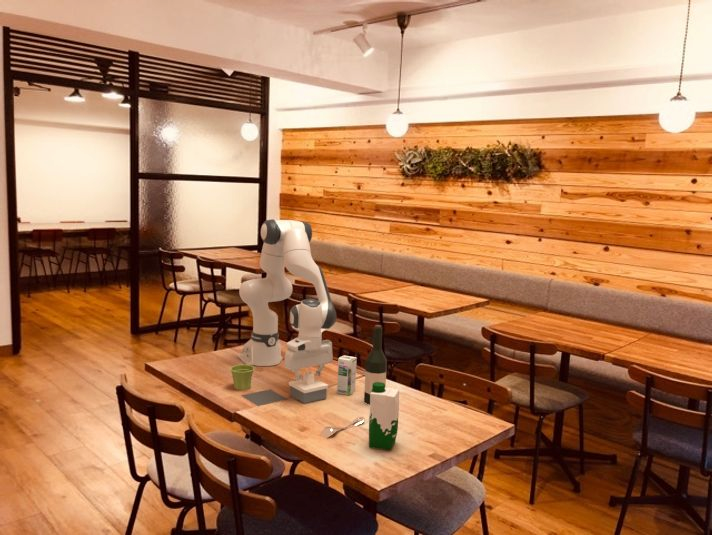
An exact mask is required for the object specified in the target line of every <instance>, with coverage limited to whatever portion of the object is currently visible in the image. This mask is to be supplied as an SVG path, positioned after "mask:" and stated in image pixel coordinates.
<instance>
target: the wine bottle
mask: <svg viewBox="0 0 712 535" xmlns="http://www.w3.org/2000/svg"><path fill="white" fill-rule="evenodd" d="M372 340H373V341H372V349H371V350H370V351H371V352H369V353H368V356H367V357H366V359H365V371H364V372H365V377H364V392H363V393H364V394H363V395H364V396H363V402H364V403H365V404H366V403H367V405H368V404H369V406H370V393H371V392H372V387H373V383H375V382H381V383H384V384H385V387H386V385H387V383H386V382H387V364H388V359H387V357H386V356H385V354H384V351H383V349H382V340H383V327H382V325H381V324H375V325H374V326H373V336H372Z"/></svg>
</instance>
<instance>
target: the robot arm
mask: <svg viewBox="0 0 712 535" xmlns="http://www.w3.org/2000/svg"><path fill="white" fill-rule="evenodd" d="M312 229H313V228H312V226H311V225H310V223H309V222H306V221H303V220H302V221H299V220H293V219H266V220H265V221H264V222H263V223H262V225H261V228H260V237H261V240H262V242H263V245H262V247H261V248H262V249H261V253H260V258H259V266H260V269H261V270H262V271H264V272H265V273H266V276H265V277H263V278H253V279H248V280H246V281H242V283H241V284H240V286H239V291H238V293H239V297H240V299H241V300H242V302H243V303H245V304H246V305H247V306H248V307H249V309H250V312H251V314H252V321H253V322H252V323H253V324H252V331H251V332H250V339H249V340H248V341H247V342H245V343H244V344H243V348H242V352H241V353H238V354H237V358H238V359H239V360H241V362H243V363H244V365H250V366H257V367H270V366H271V367H272V366H276V365H279V364H280V363H281V362H282V360H283V359H284V368H285V369H286V370H289V371H293V372H294V374H295V380H301V379H303V375H302V374H300V370H301V369H306V368H311V367H312V368H313V367H315V366H316V367H317V366H318V368H317V370H315V376H317V377H320V376H322V371H323V370H324V368H325V365H326V364H331V363H332V361H333V357H334V356H333V342H332V341H331V340H329V339H325V340H323V338H322V336H323V334H322V329H325V330H329V329H330V328H332V327H333V326H334V325H335V324H336V322H337V311H336V309H335V306H334V304H333V303H334V302H333V301H332V299H331V298H332V297H331V295H330V292H329V288H328V285H327V282H326V278H325V275H324V273H323V269H322V268H321V266H320V265H318V264H316V262H315V260H314V258H313V256H312V252H311V251H312V250H311V245H310V243H311V241H312V238H313V230H312ZM285 268H286V269H287V271H288V272H289V273H290V274H292V275H293V276H295V277H297V278H301V279H303V280H306V281H308V282H310V283H311V284H312V285H313V287H314V290H315V292H316V296H317V299H315V298H306V299H303V300H301V302H300V303H299V304H296V305H293V306H292V307H291V309H290V310H289V316H288V317H289V325H291V326H292V327H293V328H295V329H297V330H299V331H298V336H297V337H295V338H294V339H291V340H290V341H288V342H287V343H286V348H287V350H286V351H285V354H284V358H283V356H282V354H281V353H282V352H281V350H282V349H281V342H280V341H279V336H280V335H279V331H278V330H279V329H278V328H279V327H278V326H279V317H278V314H277V313H276V312H275V311H273V310H272V309H270V307H269V303H272V302H280V301H284V300H286V299H289V298H290V297H291V295H292V294H293V284H292V282H291V280H290V279H289V278H288V277H287V276H286V272H285Z"/></svg>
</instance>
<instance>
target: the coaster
mask: <svg viewBox="0 0 712 535" xmlns="http://www.w3.org/2000/svg"><path fill="white" fill-rule="evenodd" d="M241 397H243V398H244V399H246V400H247V401H249V402H250V403H253V405H256V406H258V407H259V406H263V405H269V404H272V403H277V402H282V401H288V398H287V397H285V396H283V395H281V394H279V393H278V392H276V391H274V390H272V389H265V390H260V391H255V392H251V393H246V394H241Z"/></svg>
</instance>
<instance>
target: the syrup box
mask: <svg viewBox="0 0 712 535" xmlns="http://www.w3.org/2000/svg"><path fill="white" fill-rule="evenodd" d="M357 359H358V357H356V356H349V355H345V354H344V355H342V356H340V357H338V360H337V382H336V383H337V384H336V385H337V386H336V394H339V395H340V394H341V395H346V396H351V395H352V394H354V393H355V392H356V381H357V380H356V376H357Z"/></svg>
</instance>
